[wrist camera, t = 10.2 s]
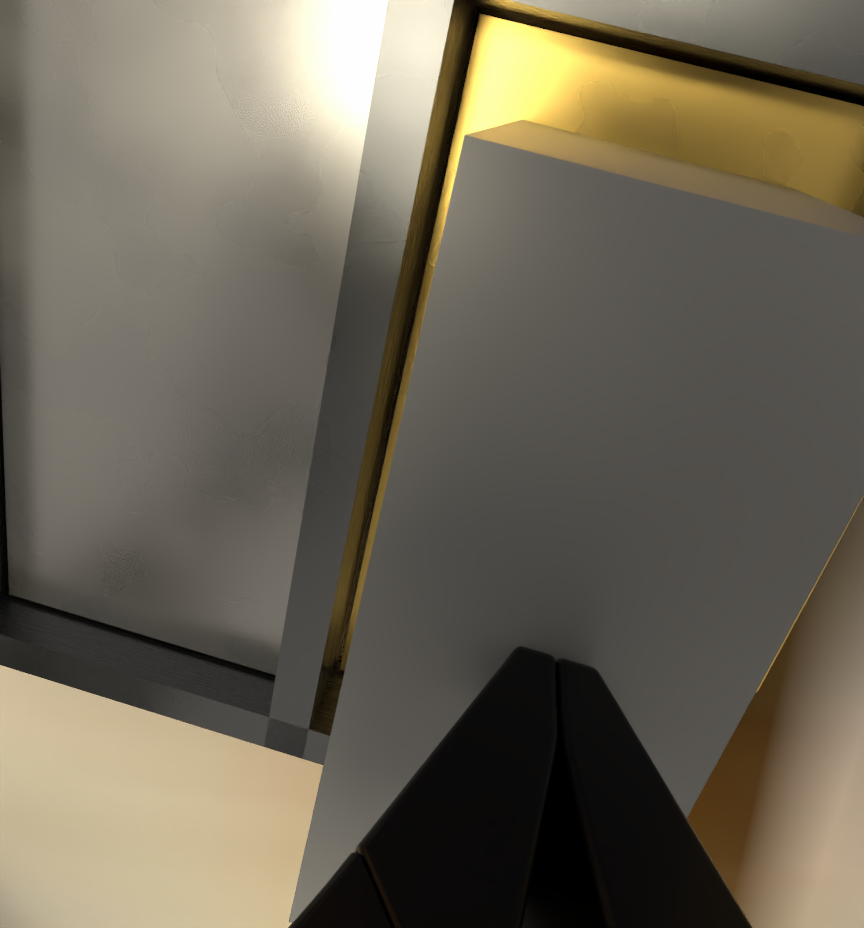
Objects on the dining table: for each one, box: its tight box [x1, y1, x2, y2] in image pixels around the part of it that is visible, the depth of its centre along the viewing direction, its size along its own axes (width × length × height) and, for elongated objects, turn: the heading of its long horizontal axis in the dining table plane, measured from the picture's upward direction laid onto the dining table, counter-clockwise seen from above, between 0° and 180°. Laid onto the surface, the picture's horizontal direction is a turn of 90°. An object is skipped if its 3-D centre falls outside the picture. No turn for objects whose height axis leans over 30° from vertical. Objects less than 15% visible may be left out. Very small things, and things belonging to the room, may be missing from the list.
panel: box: [289, 120, 864, 923], centre depth 11 cm, size 10×4×6 cm, turn 167°
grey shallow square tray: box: [0, 0, 864, 765], centre depth 13 cm, size 14×15×2 cm
